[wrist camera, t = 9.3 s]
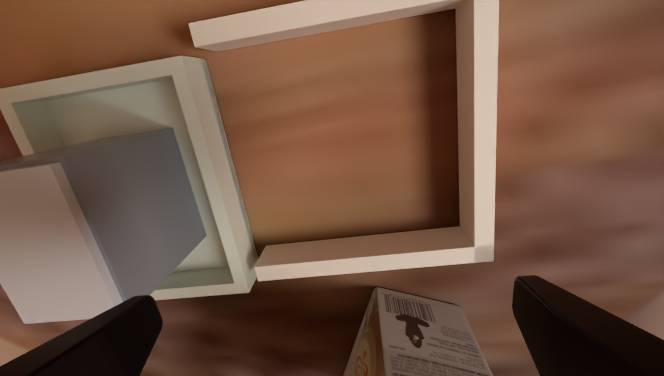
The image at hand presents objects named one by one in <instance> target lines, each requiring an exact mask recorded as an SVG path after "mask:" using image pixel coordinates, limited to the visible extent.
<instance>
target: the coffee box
mask: <svg viewBox="0 0 664 376" xmlns="http://www.w3.org/2000/svg"><path fill="white" fill-rule="evenodd" d="M343 376H493V374H492V372H491V370H490V368H489V366H488V364H487V362H486V360H485V358H484V356H483V353H482V351H481V349H480V347H479V345H478V343H477V340H476V339H475V336H474V334H473V332H472V330H471V328H470V326H469V324H468V322H467V319H466V317H465V315H464V313H463V311H462V309H461V307H459V306H456V305H453V304H448V303H444V302H440V301H435V300H431V299H427V298H423V297H418V296H414V295H410V294H406V293H401V292H397V291H392V290H388V289H384V288H380V287H375V288H374V290H373V293H372V296H371V298H370V301H369V303H368V306H367V309H366V312H365V315H364V318H363V321H362V323H361V326H360V329H359V332H358V335H357V338H356V340H355V343H354V346H353V349H352V352H351V355H350V357H349V360H348V363H347V366H346V369H345V372H344V375H343Z"/></svg>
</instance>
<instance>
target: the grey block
mask: <svg viewBox="0 0 664 376" xmlns="http://www.w3.org/2000/svg"><path fill="white" fill-rule="evenodd" d="M206 236H207V234H206V231H205V228H204V225H203V222H202V219H201V216H200V212H199V209H198V206H197V203H196V200H195V197H194V194H193V190H192V187H191V184H190V181H189V178H188V175H187V171H186V168H185V165H184V162H183V159H182V156H181V153H180V149H179V146H178V143H177V140H176V137H175V134H174V130H173V128H167V129H160V130H154V131H147V132H141V133H134V134H128V135H121V136H115V137H108V138H102V139H95V140H91V141H86V142H82V143H77V144H73V145H69V146H64V147H60V148H55V149H51V150H47V151H42V152H38V153H33V154H29V155H24V156H20V157H16V158H11V159H7V160H2V161H0V284H1V285H2V287H3V289H4V290H5V292H6V294H7V295H8V297H9V299H10V300H11V302H12V304H13V305H14V307H15V309H16V311H17V312H18V314H19V316H20V317H21V319H22V321H23V322H24V324H29V323H42V322H55V321H68V320H81V319H91V318H93V317H95V316H97V315H99V314H101V313H103V312H105V311H107V310H109V309H110V308H112V307H114V306H116V305H118V304H120V303H122V302H124V301H126V300H128V299H129V298H131V297H134V296H138V295H150V294H151V293H152V292H153V291H154V290H155V289H156V288H157V287H158V286H159V285H160V284H161V283H162V282H163V281H164V280H165V279H166V278H167V277H168V276H169V275H170V274H171V272H172V271H173V270H174V269H175V268H176V267H177V266H178V265H179V264H180V263H181V262H182V261H183V260H184V259H185V258H186V257H187V256H188V255H189V254H190V253H191V252H192V251H193V250H194V249H195V247H196V246H197V245H198V244H199V243H200V242H201V241H202V240H203V239H204V238H205V237H206Z"/></svg>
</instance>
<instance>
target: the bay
mask: <svg viewBox="0 0 664 376" xmlns="http://www.w3.org/2000/svg"><path fill="white" fill-rule="evenodd" d="M451 9H456V57H457V109H458V161H459V212H460V226H457V227H447V228H437V229H427V230H417V231H407V232H397V233H387V234H377V235H367V236H357V237H347V238H337V239H327V240H317V241H307V242H297V243H287V244H277V245H267V246H265V248H264V250H263V252H262V254H261V256H260V257H259V259H258V261H257V263H256V265H255V267H254V268H255V272H256V275H257V279H258V281H268V280H279V279H291V278H303V277H314V276H326V275H338V274H349V273H361V272H372V271H384V270H396V269H407V268H419V267H431V266H442V265H454V264H465V263H477V262H489V261H494V217H495V169H496V121H497V73H498V25H499V0H305V1H300V2H295V3H289V4H284V5H279V6H274V7H269V8H264V9H259V10H254V11H249V12H243V13H238V14H233V15H228V16H223V17H218V18H213V19H208V20H203V21H197V22H192V23H188V25H189V28H190V32H191V36H192V39H193V43H194V47H196V48H201V49H206V50H211V51H216V52H220V51H225V50H231V49H236V48H242V47H247V46H253V45H258V44H264V43H269V42H275V41H280V40H286V39H291V38H297V37H302V36H308V35H313V34H319V33H324V32H330V31H335V30H341V29H346V28H352V27H357V26H363V25H368V24H374V23H379V22H385V21H390V20H396V19H401V18H407V17H412V16H418V15H423V14H429V13H434V12H440V11H445V10H451Z"/></svg>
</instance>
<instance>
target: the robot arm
mask: <svg viewBox="0 0 664 376" xmlns="http://www.w3.org/2000/svg"><path fill="white" fill-rule="evenodd" d="M512 309H513V314H514V317H515V319H516V321H517V324H518V326H519V328H520V331H521V333H522V335H523V338H524V340H525V342H526V345H527V347H528V349H529V352H530V354H531V356H532V359H533V361H534V363H535V365H536V368H537V370H538V372H539V375H540V376H664V340H662V339H661V338H659V337H656V336H655V335H653V334H651V333H649V332H647V331H644V330H643V329H641V328H639V327H637V326H635V325H633V324H631V323H629V322H627V321H625V320H623V319H621V318H619V317H617V316H615V315H613V314H611V313H609V312H607V311H605V310H603V309H602V308H600V307H598V306H596V305H594V304H592V303H590V302H588V301H586V300H584V299H582V298H580V297H578V296H576V295H574V294H572V293H570V292H568V291H566V290H564V289H562V288H560V287H558V286H556V285H554V284H552V283H550V282H548V281H546V280H544V279H542V278H541V277H538V276H535V275H531V276H518V277H517V278H516V279H515V281H514V290H513V302H512ZM162 324H163V321H162V317H161V314H160V312H159V309H158V307H157V304H156V302H155V299H154V298H153V297H152V296H150V295H138V296H134V297H131V298H129V299H128V300H126V301H124V302H122V303H120V304H118V305H116V306H114V307H112V308H110V309H109V310H107V311H105V312H103V313H101V314H99V315H97V316H95V317H93V318H91V319H90V320H88V321H86V322H84V323H82V324H80V325H78V326H76V327H74V328H72V329H71V330H69V331H67V332H65V333H63V334H61V335H59V336H57V337H55V338H53V339H51V340H50V341H48V342H46V343H44V344H42V345H40V346H38V347H36V348H34V349H32V350H31V351H29V352H27V353H25V354H23V355H21V356H19V357H18V358H15V359H13V360H12V361H10V362H8V363H6V364H4V365H2V366H0V376H140V374H141V372H142V370H143V367H144V365H145V363H146V361H147V359H148V357H149V355H150V352H151V350H152V348H153V346H154V344H155V342H156V340H157V337H158V335H159V333H160V331H161V329H162Z"/></svg>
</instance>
